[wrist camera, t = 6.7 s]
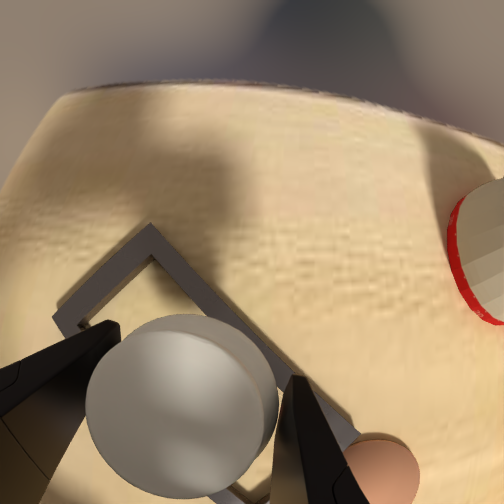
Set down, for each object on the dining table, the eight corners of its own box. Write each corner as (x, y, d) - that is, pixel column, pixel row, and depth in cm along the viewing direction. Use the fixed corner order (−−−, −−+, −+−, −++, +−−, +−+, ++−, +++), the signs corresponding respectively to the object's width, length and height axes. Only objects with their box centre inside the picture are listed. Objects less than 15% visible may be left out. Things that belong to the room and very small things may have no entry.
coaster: (352, 553, 16) (354, 556, 16) (273, 504, 18) (274, 507, 18) (435, 474, 19) (438, 476, 18) (368, 415, 20) (371, 416, 20)
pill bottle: (266, 429, 14) (302, 519, 5) (161, 432, 14) (74, 509, 5) (258, 327, 16) (286, 287, 7) (154, 331, 16) (53, 296, 6)
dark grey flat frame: (249, 521, 18) (250, 528, 16) (59, 318, 22) (51, 316, 21) (355, 430, 20) (360, 433, 19) (154, 228, 24) (150, 222, 23)
